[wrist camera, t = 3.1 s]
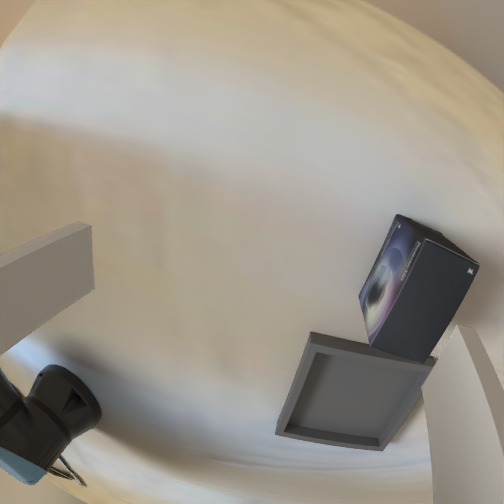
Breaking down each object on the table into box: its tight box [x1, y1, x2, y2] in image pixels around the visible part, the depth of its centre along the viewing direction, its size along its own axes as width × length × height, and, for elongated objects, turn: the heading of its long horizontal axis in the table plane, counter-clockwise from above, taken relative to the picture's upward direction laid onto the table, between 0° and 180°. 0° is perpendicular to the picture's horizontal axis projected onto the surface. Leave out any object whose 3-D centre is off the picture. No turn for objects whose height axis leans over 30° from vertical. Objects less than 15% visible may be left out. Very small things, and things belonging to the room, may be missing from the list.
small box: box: [359, 214, 480, 364], centre depth 28 cm, size 11×6×10 cm, turn 162°
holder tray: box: [275, 332, 436, 451], centre depth 38 cm, size 17×17×2 cm
